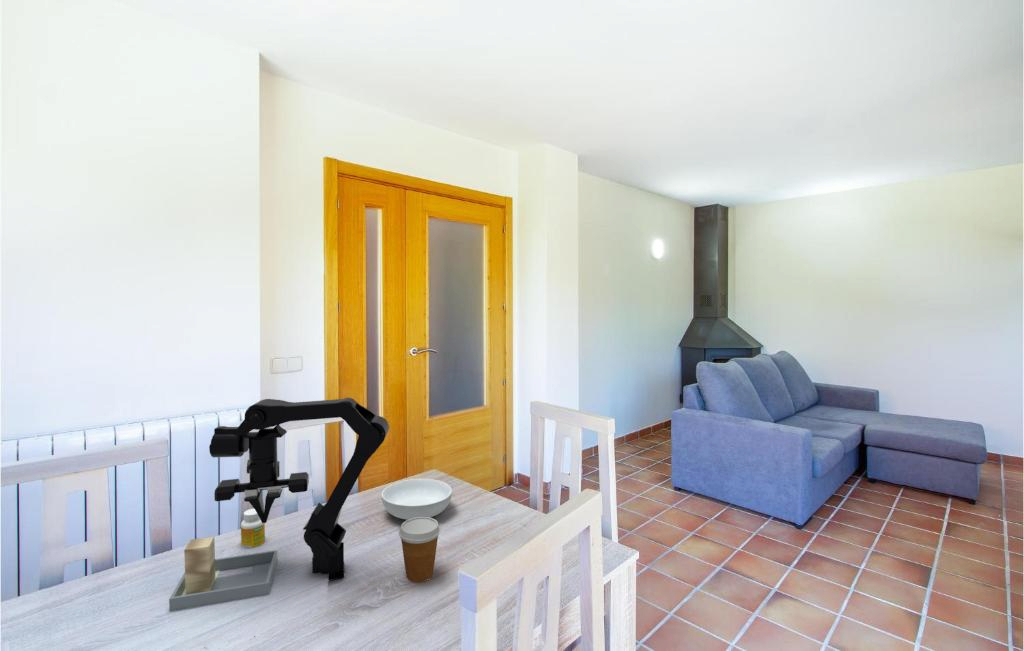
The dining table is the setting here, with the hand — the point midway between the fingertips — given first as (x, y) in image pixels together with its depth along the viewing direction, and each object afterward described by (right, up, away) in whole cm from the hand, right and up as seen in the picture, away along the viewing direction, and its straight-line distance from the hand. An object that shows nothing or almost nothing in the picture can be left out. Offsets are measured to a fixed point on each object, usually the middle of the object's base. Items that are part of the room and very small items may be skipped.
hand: (264, 522), depth 111 cm
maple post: (-11, -12, -6) cm, 17 cm away
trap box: (-6, -13, -4) cm, 15 cm away
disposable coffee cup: (+35, -14, +2) cm, 38 cm away
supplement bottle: (-10, -12, +13) cm, 21 cm away
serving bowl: (+28, -12, +35) cm, 46 cm away
